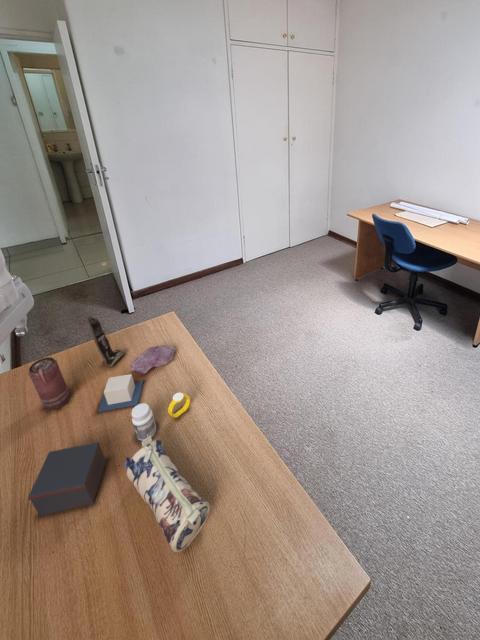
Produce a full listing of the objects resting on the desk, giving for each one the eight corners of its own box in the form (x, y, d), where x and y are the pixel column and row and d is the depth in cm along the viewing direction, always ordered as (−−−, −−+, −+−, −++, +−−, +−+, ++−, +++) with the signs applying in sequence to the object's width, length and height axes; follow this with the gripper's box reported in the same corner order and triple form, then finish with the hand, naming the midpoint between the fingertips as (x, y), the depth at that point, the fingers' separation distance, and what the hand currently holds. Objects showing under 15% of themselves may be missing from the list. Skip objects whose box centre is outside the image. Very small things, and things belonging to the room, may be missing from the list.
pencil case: (127, 482, 73) (117, 455, 69) (163, 453, 79) (156, 426, 75) (179, 568, 60) (171, 540, 56) (218, 526, 66) (212, 498, 62)
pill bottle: (136, 427, 85) (129, 405, 81) (156, 421, 86) (150, 398, 83) (136, 444, 81) (129, 421, 77) (156, 437, 82) (150, 414, 79)
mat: (98, 412, 89) (97, 411, 89) (106, 388, 96) (106, 387, 96) (137, 405, 91) (137, 404, 91) (143, 382, 98) (143, 381, 98)
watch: (174, 423, 86) (170, 407, 83) (168, 417, 87) (164, 402, 85) (193, 407, 90) (190, 392, 88) (187, 402, 92) (184, 386, 89)
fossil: (126, 370, 102) (123, 358, 100) (168, 346, 112) (165, 333, 110) (139, 384, 97) (136, 371, 95) (181, 356, 107) (179, 344, 105)
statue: (127, 354, 108) (112, 305, 100) (111, 370, 102) (94, 319, 93) (116, 352, 109) (101, 303, 100) (99, 368, 103) (82, 317, 94)
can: (46, 416, 88) (28, 378, 82) (43, 400, 92) (26, 363, 86) (72, 403, 91) (57, 366, 85) (68, 388, 95) (53, 352, 90)
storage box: (39, 516, 67) (27, 497, 64) (58, 470, 75) (48, 451, 72) (93, 504, 69) (84, 484, 66) (106, 460, 77) (99, 441, 74)
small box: (107, 404, 90) (103, 392, 88) (113, 390, 95) (108, 377, 93) (131, 400, 92) (127, 388, 89) (135, 386, 96) (131, 374, 94)
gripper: (1, 273, 76) (20, 320, 82) (-67, 330, 58) (-36, 385, 64) (32, 270, 78) (48, 317, 83) (-25, 325, 60) (1, 380, 65)
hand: (11, 347), depth 74 cm, fingers open, 8 cm apart
